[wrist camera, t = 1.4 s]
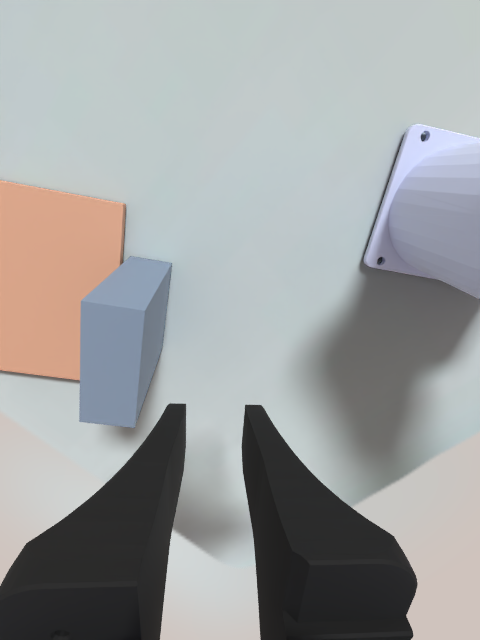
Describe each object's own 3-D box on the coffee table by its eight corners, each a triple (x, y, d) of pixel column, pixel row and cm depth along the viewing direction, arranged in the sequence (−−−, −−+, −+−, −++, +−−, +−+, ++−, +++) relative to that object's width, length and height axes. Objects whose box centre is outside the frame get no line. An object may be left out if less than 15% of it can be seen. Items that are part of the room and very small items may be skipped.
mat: (125, 204, 20) (123, 204, 19) (115, 379, 24) (113, 384, 24) (-24, 175, 19) (-31, 175, 18) (-5, 364, 23) (-11, 368, 23)
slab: (171, 263, 21) (144, 310, 14) (162, 348, 23) (134, 427, 16) (130, 256, 21) (80, 300, 13) (124, 342, 23) (79, 421, 16)
